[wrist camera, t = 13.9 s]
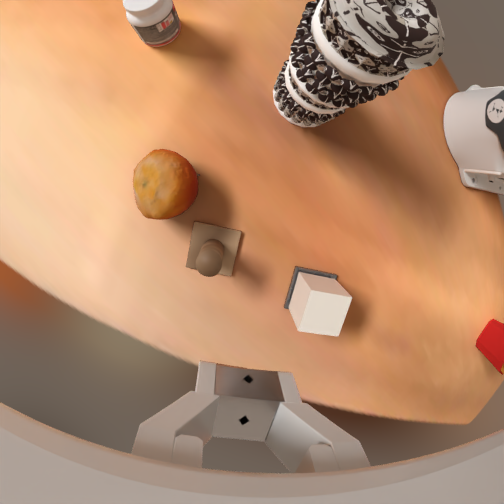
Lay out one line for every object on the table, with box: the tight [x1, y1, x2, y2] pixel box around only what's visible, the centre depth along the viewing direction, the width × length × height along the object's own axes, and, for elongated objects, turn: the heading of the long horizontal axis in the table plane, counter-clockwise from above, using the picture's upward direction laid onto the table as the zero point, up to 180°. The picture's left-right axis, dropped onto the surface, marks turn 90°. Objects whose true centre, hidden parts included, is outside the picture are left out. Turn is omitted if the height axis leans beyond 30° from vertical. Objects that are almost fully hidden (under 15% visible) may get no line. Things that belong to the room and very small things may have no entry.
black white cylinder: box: [273, 0, 444, 127], centre depth 22 cm, size 9×9×25 cm
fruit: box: [133, 149, 200, 220], centre depth 33 cm, size 8×8×8 cm
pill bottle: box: [123, 0, 181, 47], centre depth 26 cm, size 6×6×10 cm
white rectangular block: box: [289, 272, 352, 336], centre depth 37 cm, size 5×5×7 cm
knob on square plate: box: [186, 221, 241, 277], centre depth 35 cm, size 6×6×7 cm
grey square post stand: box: [284, 266, 337, 309], centre depth 37 cm, size 6×6×7 cm
